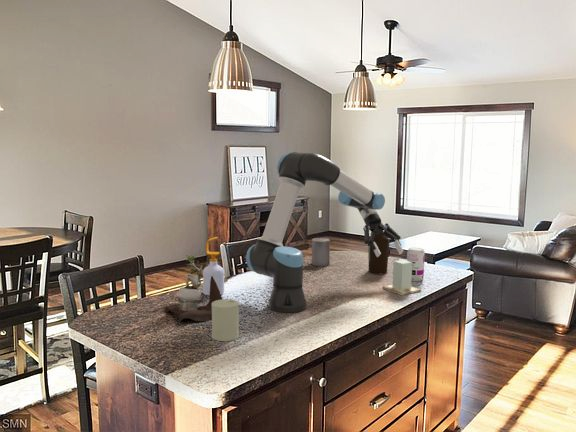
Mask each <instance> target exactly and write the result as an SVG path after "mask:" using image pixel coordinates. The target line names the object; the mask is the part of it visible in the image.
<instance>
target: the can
mask: <svg viewBox="0 0 576 432" xmlns="http://www.w3.org/2000/svg"><path fill="white" fill-rule="evenodd" d="M239 303H240V302H239V301H237V300H235V299H231V298H230V299H229V298H227V299H226V298H222V300H216V301H214V302H212V318H211V338H212V339H213V340H215V341H218V342H231V341H235V340H237V339H238V338H239V336H240V334H239V331H240V330H239V329H240V328H239V310H240V309H239V307H240V304H239Z"/></svg>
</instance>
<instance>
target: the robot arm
mask: <svg viewBox="0 0 576 432" xmlns="http://www.w3.org/2000/svg"><path fill="white" fill-rule="evenodd" d="M276 170H277V174H278V181H279V183H280V184H279V185H278V189H277V193H276V196H275V197H274V201H273V205H272V208H271V210H270V213H269V216H268V219H267V222H266V225H265V228H264V231H263V233H262V236H261V237H259V238H257V240H256V243H255V244H253V245H252V246H250V247H249V248H248V250H247V252H246V256H245V260H246V261H245V262H246V264H247V267H248V268H249V270H251V271H252V272H253V273H256V274H258V275H261V276H262V275H263V276H265V277H269V278H273V279H272V282H273V283H272V290H271V293H270V297H269V299H268V308H269V309H270V310H272V311H274V312H279V313H297V312H302V311H305V310H306V309H307V300H306V298H305V291H304V289H303V279H304V277H303V276H304V255H303V252H302V251H301V250H300V249H297V248H295V247H292V246H284V245H283V242H284V241H283V240H284V238H285V235H286V232H287V228H288V225H289V222H290V219H291V217H292V213H293V210H294V209H295V204H296V201H297V199H298V197H299V193H300V191H301V190H302V189H304V188H305V185H306V183H307V182H317V183H320V184H323V185H326V186H331V187H332V188H335V189H336V190H338V191H339V192H338V197H337V198H338V199H337V200H338V202H339V204H340V205H343V206H345V207H346V206H347V207H351V208H355V209H357V210H358V212H359V214H360V216H361V218H362V220H363V221H364V224H365V225H364V226H363V231H364V232H363V233H364V234H363V235H364V244H365V245H367V247H368V246H370V247H371V249H372V250H373V251H374V252H375V254H376V256H377V257H378V256H379V255H380V254H381V253H380V251H379V249H378V247H377V245H376V243H375V242H373V240H374V236H375V234H382V235H385V236H386V237H388V239H389V240H391V241H392V242H393V245H394V247H395V249H396V251H397V252H398V255H402V254H403V252H404V249H403V247H402V243H400V239H401V238H402V237H401V236H400V235H399V234H398V233H397V232H396V231H395V230H394V229H393V228H392V227H390V225H389V224H388V223H385V224H383V223H382V219H381V217H380V215H379V214H378V211H377V210H379V211H380V210H382V209H383V208H384V206H385V203H386V197H385V195H384V194H382V193H379V192H374V191H373V190H372V189H371V190H370V189H369V188H367V186H365V185H363V184H362V183H360V182H359V181H358V180H356V179H355V178H353V177H351V176H350V175H348V174H346V172H344V171H342V170H341V168H340V166H339V165H338V164H336V163H335V162H334V161H332V160H330V159H328V158H327V157H326V156H323V155H321V154H318V153H314V152H297V151H292V152H287V153H285V154H284V153H283V154H282V155H281V156H280V157H279V159H278V161H277V166H276ZM369 238H370V239H369Z"/></svg>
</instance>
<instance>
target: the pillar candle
mask: <svg viewBox="0 0 576 432" xmlns="http://www.w3.org/2000/svg"><path fill="white" fill-rule="evenodd" d="M330 241H331V239H330V238H326V237H314V238H312V239H311V265H313V266H316V267H327V266H329V265H330V262H331V261H330V256H331V255H330V254H331V253H330V252H331V251H330V250H331V248H330V247H331V246H330V245H331V242H330Z"/></svg>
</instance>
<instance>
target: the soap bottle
mask: <svg viewBox="0 0 576 432" xmlns="http://www.w3.org/2000/svg"><path fill="white" fill-rule="evenodd" d="M218 238H219V237H218V236H215V237H212V238H209V239H207V240H206V243H205V253H206V254H207V255H210V257H211V258H209V264H208V267H207V266H206V267H205V268H204V269H202V275H203V276H204V277H202V293H203V295H205V296H209V297H210V280H211V276H213V278H214V280H215V282H216V284H217V286H218V289H219V291H220V294H221V295H224V293H225V270H224V268H223V267H222V266H221V265H219V264H218V258H216V257H217V256H218V255H220V252H219V251H210V249H209V246H210V245H209V243H210V242H211V241H215V240H218Z"/></svg>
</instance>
